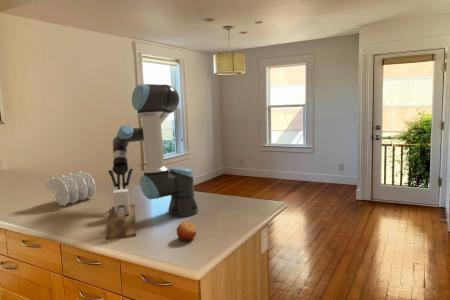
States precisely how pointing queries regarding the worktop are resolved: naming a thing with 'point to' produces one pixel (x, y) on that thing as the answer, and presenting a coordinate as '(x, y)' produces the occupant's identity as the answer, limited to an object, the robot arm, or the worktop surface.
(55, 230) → the worktop surface
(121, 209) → the steel rod
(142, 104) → the robot arm
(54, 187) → the spiral staircase
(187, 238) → the fruit
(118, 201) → the sleeve
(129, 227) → the walnut board
